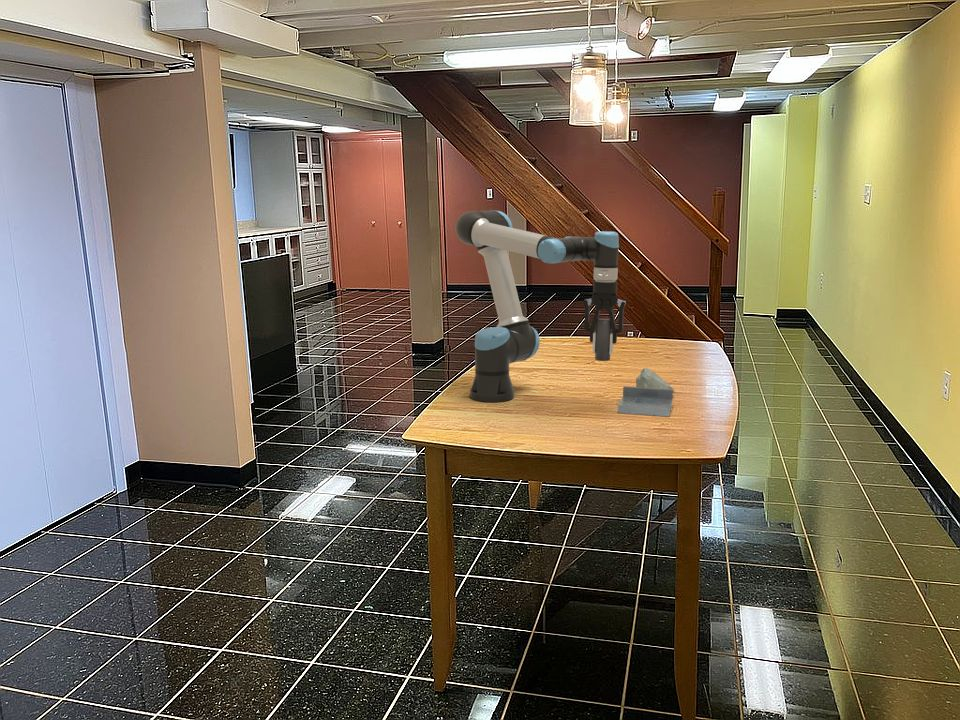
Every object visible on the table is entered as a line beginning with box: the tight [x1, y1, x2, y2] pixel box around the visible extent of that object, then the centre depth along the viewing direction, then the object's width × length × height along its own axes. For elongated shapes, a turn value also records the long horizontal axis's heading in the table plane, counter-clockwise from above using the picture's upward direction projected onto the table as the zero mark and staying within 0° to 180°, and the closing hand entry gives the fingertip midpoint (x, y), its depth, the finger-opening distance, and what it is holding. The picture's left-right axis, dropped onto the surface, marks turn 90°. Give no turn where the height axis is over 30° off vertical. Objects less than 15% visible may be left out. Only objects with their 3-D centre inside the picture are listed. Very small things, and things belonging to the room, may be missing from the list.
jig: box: [617, 385, 674, 418], centre depth 262 cm, size 16×14×6 cm
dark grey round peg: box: [594, 318, 612, 362], centre depth 261 cm, size 5×5×13 cm
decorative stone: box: [635, 367, 675, 394], centre depth 279 cm, size 13×11×10 cm
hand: (602, 352), depth 262 cm, fingers closed on dark grey round peg, 5 cm apart
